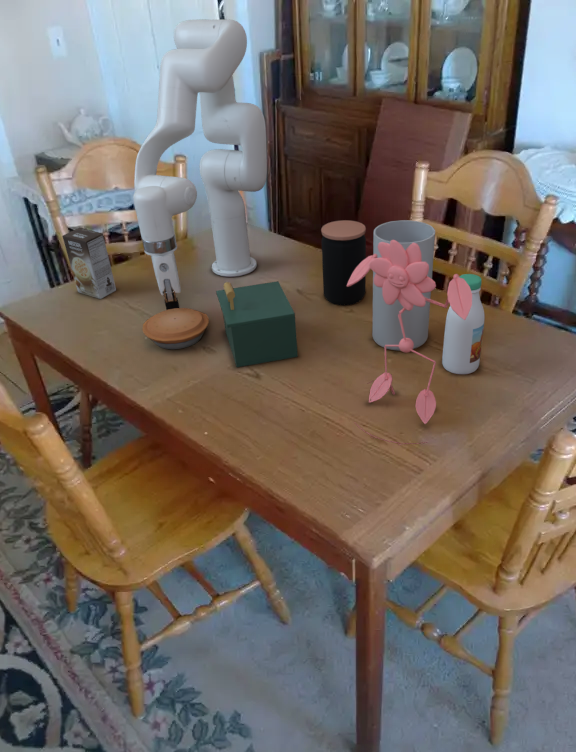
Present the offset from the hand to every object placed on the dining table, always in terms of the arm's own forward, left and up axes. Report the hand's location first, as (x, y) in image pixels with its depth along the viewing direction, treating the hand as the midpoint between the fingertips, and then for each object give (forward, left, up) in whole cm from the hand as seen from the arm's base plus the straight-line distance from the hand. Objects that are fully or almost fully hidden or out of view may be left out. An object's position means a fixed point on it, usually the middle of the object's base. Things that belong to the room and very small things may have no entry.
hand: (174, 314), depth 163 cm
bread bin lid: (+19, +18, +9) cm, 27 cm away
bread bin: (+19, +18, -1) cm, 26 cm away
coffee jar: (+3, +43, -1) cm, 43 cm away
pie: (+10, 0, -1) cm, 10 cm away
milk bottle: (+42, +57, -1) cm, 71 cm away
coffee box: (-23, -19, -1) cm, 30 cm away
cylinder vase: (+27, +49, -1) cm, 56 cm away
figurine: (+55, +37, -1) cm, 66 cm away
